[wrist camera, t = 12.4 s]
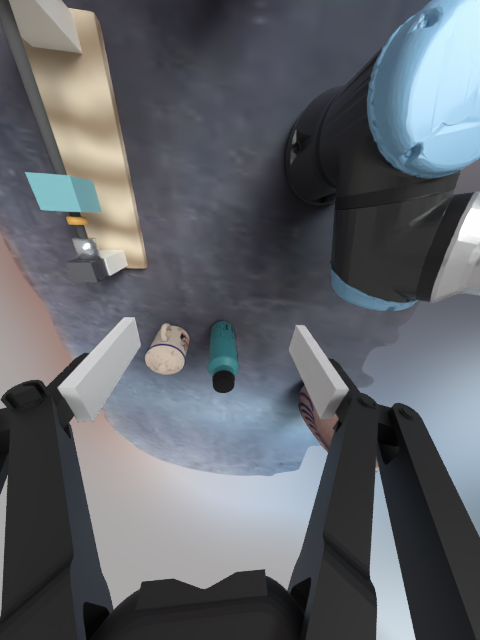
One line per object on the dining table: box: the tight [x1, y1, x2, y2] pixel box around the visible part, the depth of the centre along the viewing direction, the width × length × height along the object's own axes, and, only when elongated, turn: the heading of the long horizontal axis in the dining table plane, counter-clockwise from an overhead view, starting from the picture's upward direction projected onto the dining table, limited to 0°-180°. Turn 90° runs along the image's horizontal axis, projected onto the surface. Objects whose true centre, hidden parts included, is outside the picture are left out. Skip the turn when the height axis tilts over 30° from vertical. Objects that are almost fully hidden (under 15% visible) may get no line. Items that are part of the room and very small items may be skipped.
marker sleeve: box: [25, 172, 102, 212], centre depth 26 cm, size 4×5×5 cm
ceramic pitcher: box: [298, 385, 379, 472], centre depth 54 cm, size 18×21×25 cm
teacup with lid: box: [145, 323, 189, 375], centre depth 45 cm, size 12×9×12 cm
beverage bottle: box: [208, 321, 239, 393], centre depth 41 cm, size 6×7×20 cm
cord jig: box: [0, 0, 148, 282], centre depth 26 cm, size 32×11×12 cm, turn 177°
